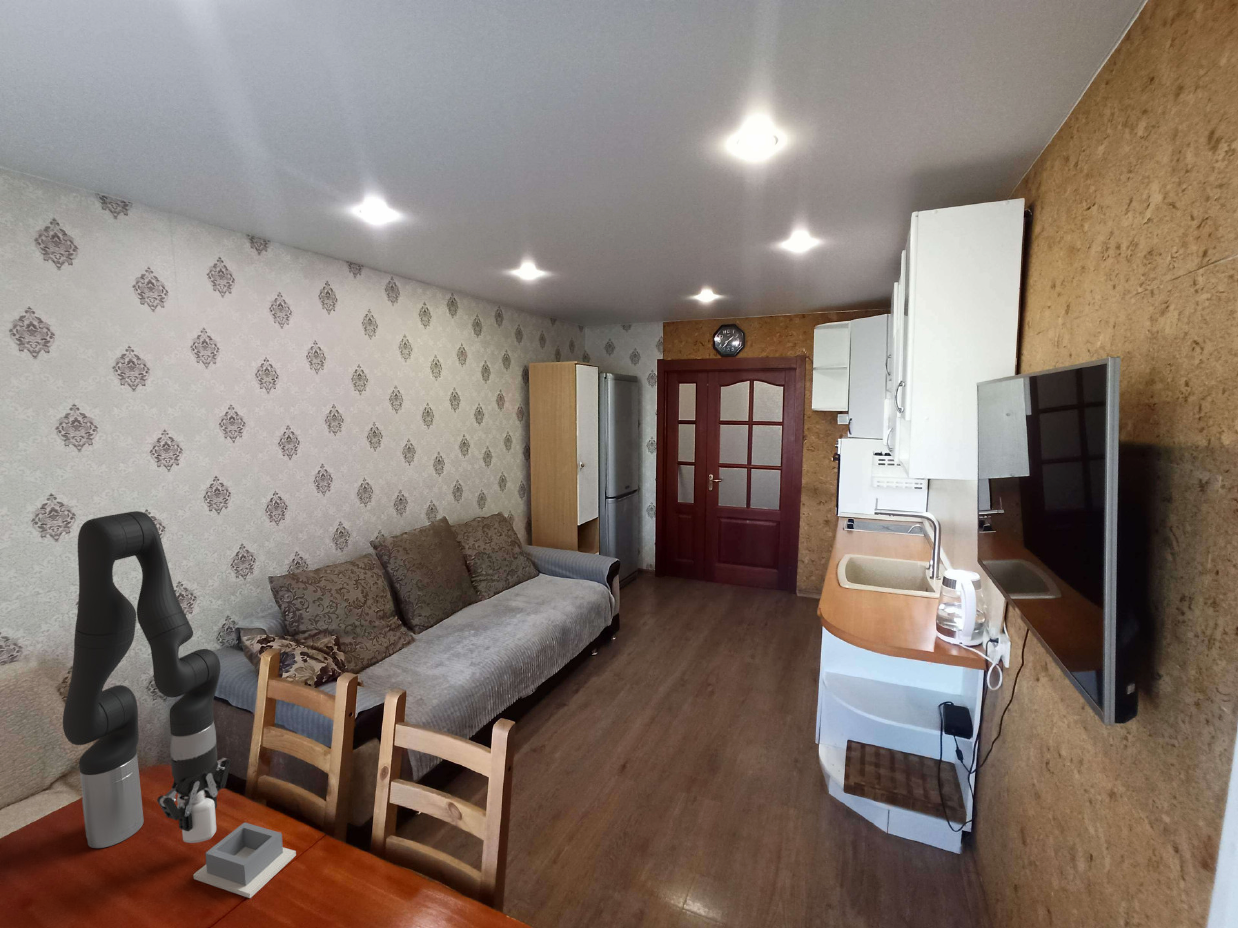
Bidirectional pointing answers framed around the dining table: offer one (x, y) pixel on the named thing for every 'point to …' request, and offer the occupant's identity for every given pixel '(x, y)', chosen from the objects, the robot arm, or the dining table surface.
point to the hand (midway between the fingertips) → (198, 820)
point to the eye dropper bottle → (201, 820)
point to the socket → (245, 860)
